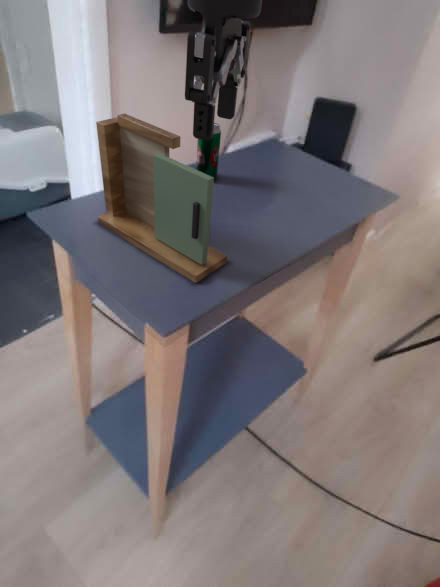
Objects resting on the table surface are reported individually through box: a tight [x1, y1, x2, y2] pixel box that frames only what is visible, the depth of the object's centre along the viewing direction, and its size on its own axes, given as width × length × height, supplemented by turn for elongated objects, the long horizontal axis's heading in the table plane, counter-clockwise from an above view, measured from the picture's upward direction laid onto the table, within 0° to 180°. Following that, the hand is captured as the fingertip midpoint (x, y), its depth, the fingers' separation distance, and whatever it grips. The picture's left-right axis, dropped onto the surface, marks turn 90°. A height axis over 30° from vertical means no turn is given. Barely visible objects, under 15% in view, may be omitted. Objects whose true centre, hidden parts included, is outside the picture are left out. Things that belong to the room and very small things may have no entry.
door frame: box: [95, 113, 228, 284], centre depth 64 cm, size 8×25×19 cm, turn 51°
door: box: [153, 153, 215, 265], centre depth 61 cm, size 2×11×15 cm, turn 51°
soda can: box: [195, 122, 222, 180], centre depth 89 cm, size 5×5×12 cm
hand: (214, 127), depth 48 cm, fingers open, 8 cm apart
